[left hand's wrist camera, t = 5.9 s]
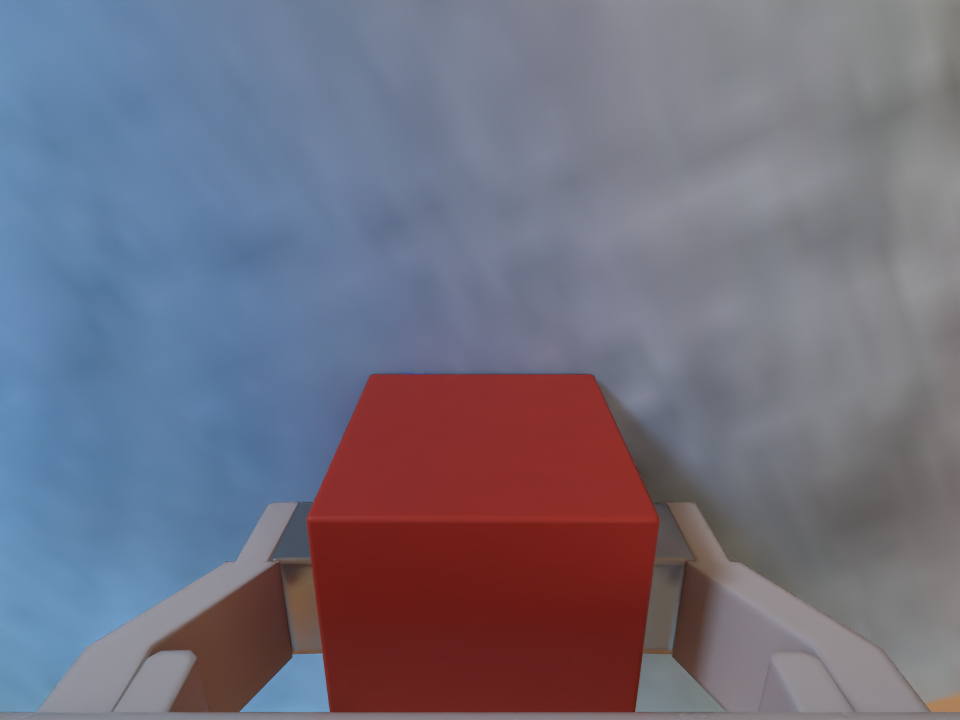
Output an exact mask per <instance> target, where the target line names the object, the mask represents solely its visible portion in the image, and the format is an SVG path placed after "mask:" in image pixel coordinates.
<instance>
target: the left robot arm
mask: <svg viewBox="0 0 960 720" xmlns="http://www.w3.org/2000/svg"><path fill="white" fill-rule="evenodd" d="M312 504H313V502H301V503H300V502H272V503H270V504H269V505H268V506H267V507H266V509H265V510H264V512H263V514H262V516H261V517H260V519H259V521H258V523H257V524H256V526H255V528H254V530H253V531H252V533H251V535H250V537H249V538H248V540H247V542H246V544H245V545H244V547H243V549H242V551H241V552H240V554H239V556H238V558H237V559H236V561H235V562H225V563H224V564H222V565H220V566H219V567H217V568H215V569H214V570H212V571H210V572H209V573H207V574H205V575H204V576H202V577H201V578H199V579H197V580H196V581H194V582H192V583H191V584H189V585H187V586H186V587H184V588H183V589H181V590H179V591H178V592H176V593H174V594H173V595H171V596H169V597H168V598H166V599H165V600H163V601H161V602H160V603H158V604H156V605H155V606H153V607H151V608H150V609H148V610H146V611H145V612H143V613H142V614H140V615H138V616H137V617H135V618H133V619H132V620H130V621H128V622H127V623H125V624H124V625H122V626H120V627H119V628H117V629H115V630H114V631H112V632H110V633H109V634H107V635H106V636H104V637H102V638H101V639H99V640H97V641H96V642H94V643H92V644H91V645H89V646H87V647H86V648H85V649H84V650H83V652H82V653H81V654H80V655H79V657H78V658H77V659H76V661H75V662H74V663H73V665H72V666H71V667H70V669H69V670H68V671H67V672H66V674H65V675H64V676H63V678H62V679H61V680H60V682H59V683H58V684H57V685H56V687H55V688H54V689H53V691H52V692H51V693H50V695H49V696H48V697H47V698H46V700H45V701H44V702H43V704H42V705H41V706H40V708H39V709H38V710H37V712H0V720H960V712H931V711H930V710H929V708H928V707H927V706H926V705H925V703H924V702H923V701H922V699H921V698H920V697H919V695H918V694H917V693H916V692H915V690H914V689H913V688H912V686H911V685H910V684H909V683H908V681H907V680H906V679H905V677H904V676H903V675H902V673H901V672H900V671H899V670H898V668H897V667H896V666H895V664H894V663H893V662H892V661H891V659H890V658H889V657H888V655H887V654H886V653H885V652H884V650H883V649H882V648H880V647H879V646H877V645H875V644H874V643H872V642H870V641H869V640H867V639H865V638H864V637H862V636H861V635H859V634H857V633H856V632H854V631H852V630H851V629H849V628H847V627H846V626H844V625H842V624H841V623H839V622H837V621H836V620H834V619H833V618H831V617H829V616H828V615H826V614H824V613H823V612H821V611H819V610H818V609H816V608H814V607H813V606H811V605H809V604H808V603H806V602H805V601H803V600H801V599H800V598H798V597H796V596H795V595H793V594H791V593H790V592H788V591H786V590H785V589H783V588H781V587H780V586H778V585H777V584H775V583H773V582H772V581H770V580H768V579H767V578H765V577H763V576H762V575H760V574H758V573H757V572H755V571H753V570H752V569H750V568H749V567H747V566H745V565H744V564H742V563H740V562H730V561H729V559H728V557H727V555H726V554H725V552H724V550H723V549H722V547H721V545H720V544H719V542H718V540H717V539H716V537H715V535H714V533H713V532H712V530H711V528H710V527H709V525H708V523H707V522H706V520H705V518H704V517H703V515H702V513H701V512H700V510H699V508H698V506H697V505H696V504H695V503H693V502H692V501H688V502H663V503H653V505H654V507H655V509H656V512H657V514H658V516H659V519H660V523H659V531H658V539H657V547H656V554H655V562H654V570H653V577H652V585H651V593H650V600H649V608H648V616H647V624H646V631H645V639H644V647H643V653H652V654H673V656H672V657H673V658H674V659H675V660H676V661H677V662H678V663H679V664H680V665H681V666H682V667H683V668H684V669H685V670H686V671H687V672H688V673H689V674H690V675H691V676H692V677H693V678H694V679H695V680H696V681H697V682H698V683H699V684H700V685H701V686H702V687H703V688H704V689H705V690H706V691H707V692H708V693H709V694H710V695H711V696H712V697H713V698H714V699H715V700H716V702H717V703H718V704H719V705H720V706H721V707H722V708H723V709H724V710H725V711H726V712H239V711H240V710H241V709H242V708H243V707H244V706H245V705H246V704H247V703H248V702H249V701H250V700H251V699H252V698H253V697H254V696H255V695H256V694H257V693H258V692H259V691H260V690H261V689H262V688H263V687H264V686H265V685H266V684H267V683H268V682H269V681H270V680H271V679H272V678H273V677H274V676H275V674H276V673H277V672H278V671H279V670H280V669H281V668H282V667H283V666H284V665H285V664H286V663H287V662H288V661H289V660H290V659H291V658H292V654H312V653H323V652H322V644H321V636H320V628H319V620H318V612H317V604H316V596H315V588H314V580H313V572H312V564H311V556H310V548H309V540H308V532H307V524H306V518H307V516H308V513H309V511H310V509H311V507H312Z"/></svg>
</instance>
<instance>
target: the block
mask: <svg viewBox="0 0 960 720" xmlns="http://www.w3.org/2000/svg"><path fill="white" fill-rule="evenodd" d="M659 523H660V519H659V516H658V514H657V512H656V509H655V507H654V505H653V503H652V501H651V498H650V496H649V494H648V492H647V490H646V488H645V485H644V483H643V481H642V479H641V477H640V475H639V472H638V470H637V468H636V466H635V464H634V462H633V459H632V457H631V455H630V453H629V451H628V449H627V446H626V444H625V442H624V440H623V438H622V436H621V433H620V431H619V429H618V427H617V425H616V423H615V420H614V418H613V416H612V414H611V412H610V410H609V407H608V405H607V403H606V401H605V399H604V397H603V394H602V392H601V390H600V388H599V386H598V384H597V381H596V379H595V377H594V376H593V375H371V376H370V377H369V379H368V382H367V384H366V386H365V388H364V390H363V393H362V395H361V397H360V399H359V402H358V404H357V406H356V408H355V411H354V413H353V415H352V417H351V420H350V422H349V424H348V426H347V428H346V431H345V433H344V435H343V437H342V440H341V442H340V444H339V446H338V449H337V451H336V453H335V455H334V458H333V460H332V462H331V464H330V466H329V469H328V471H327V473H326V475H325V478H324V480H323V482H322V484H321V487H320V489H319V491H318V493H317V496H316V498H315V500H314V502H313V504H312V507H311V509H310V511H309V513H308V516H307V518H306V524H307V532H308V540H309V548H310V556H311V564H312V572H313V580H314V588H315V596H316V604H317V612H318V620H319V628H320V636H321V644H322V652H323V660H324V668H325V676H326V684H327V692H328V700H329V708H330V712H635V708H636V701H637V693H638V685H639V678H640V670H641V662H642V654H643V647H644V639H645V631H646V624H647V616H648V608H649V600H650V593H651V585H652V577H653V570H654V562H655V554H656V547H657V539H658V531H659Z"/></svg>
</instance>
